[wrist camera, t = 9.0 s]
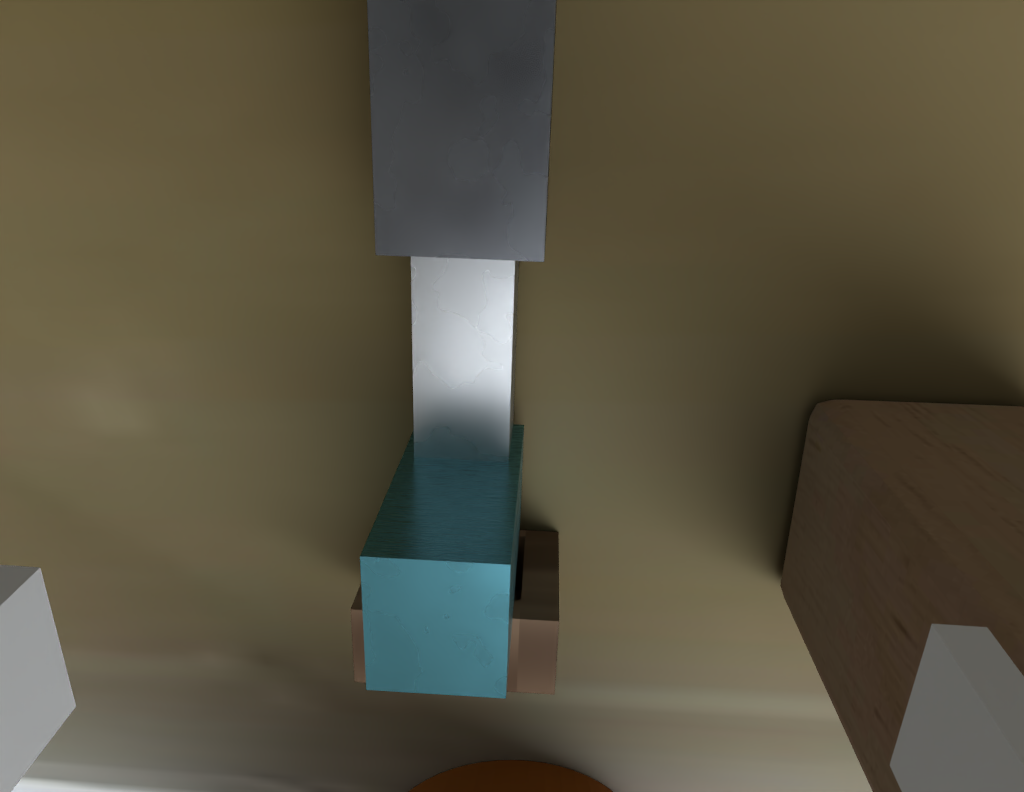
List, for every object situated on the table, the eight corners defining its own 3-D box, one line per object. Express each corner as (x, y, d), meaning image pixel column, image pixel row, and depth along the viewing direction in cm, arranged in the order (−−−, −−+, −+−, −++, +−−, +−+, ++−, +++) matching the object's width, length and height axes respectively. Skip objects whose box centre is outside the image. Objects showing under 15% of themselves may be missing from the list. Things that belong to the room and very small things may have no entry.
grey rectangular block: (399, -92, 27) (362, -135, 22) (560, -88, 27) (561, -131, 22) (405, 228, 31) (375, 254, 26) (545, 234, 31) (543, 262, 26)
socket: (385, 522, 36) (350, 609, 30) (558, 531, 36) (559, 621, 30) (387, 586, 37) (354, 682, 31) (554, 596, 37) (554, 694, 31)
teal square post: (414, 162, 29) (342, 195, 19) (533, 166, 29) (522, 202, 19) (420, 588, 36) (370, 772, 26) (517, 594, 36) (503, 781, 26)
